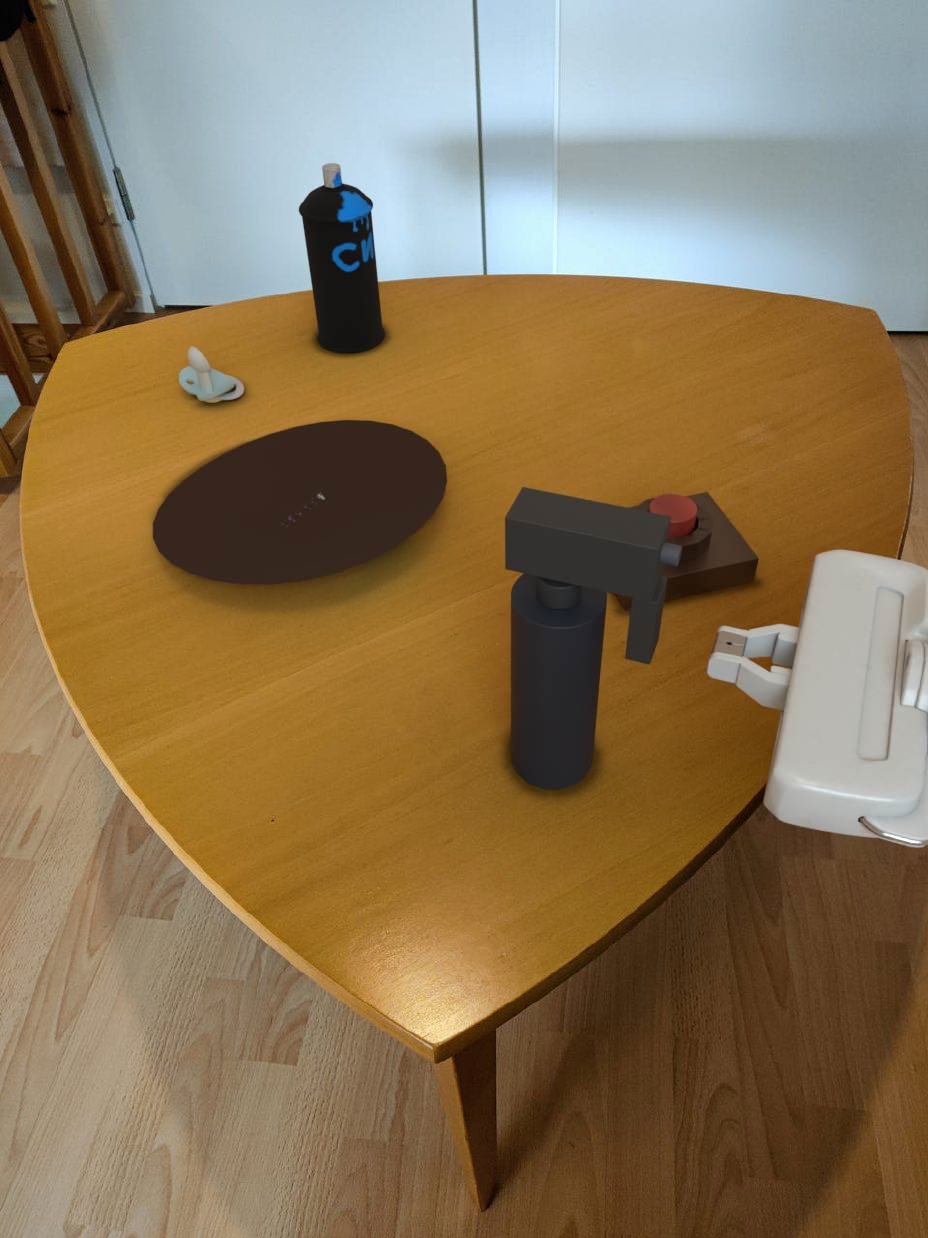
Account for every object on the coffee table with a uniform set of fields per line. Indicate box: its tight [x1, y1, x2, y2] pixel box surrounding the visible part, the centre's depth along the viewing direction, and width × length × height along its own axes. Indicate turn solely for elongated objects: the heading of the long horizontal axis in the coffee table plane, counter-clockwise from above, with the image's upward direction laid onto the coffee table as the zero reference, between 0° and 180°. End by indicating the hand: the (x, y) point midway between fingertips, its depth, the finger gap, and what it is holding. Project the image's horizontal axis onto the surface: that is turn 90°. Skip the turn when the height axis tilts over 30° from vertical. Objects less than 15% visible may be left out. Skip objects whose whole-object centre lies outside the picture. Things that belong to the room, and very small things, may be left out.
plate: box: [152, 419, 448, 585], centre depth 94 cm, size 28×28×4 cm
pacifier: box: [178, 345, 245, 404], centre depth 110 cm, size 7×6×6 cm
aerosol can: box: [298, 162, 386, 354], centre depth 114 cm, size 8×8×20 cm
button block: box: [614, 491, 760, 611], centre depth 87 cm, size 12×10×4 cm
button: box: [649, 493, 697, 537], centre depth 85 cm, size 4×4×2 cm
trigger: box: [624, 577, 667, 666], centre depth 61 cm, size 2×2×5 cm
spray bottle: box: [504, 486, 682, 790], centre depth 65 cm, size 10×6×22 cm, turn 69°
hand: (712, 650), depth 60 cm, fingers closed
